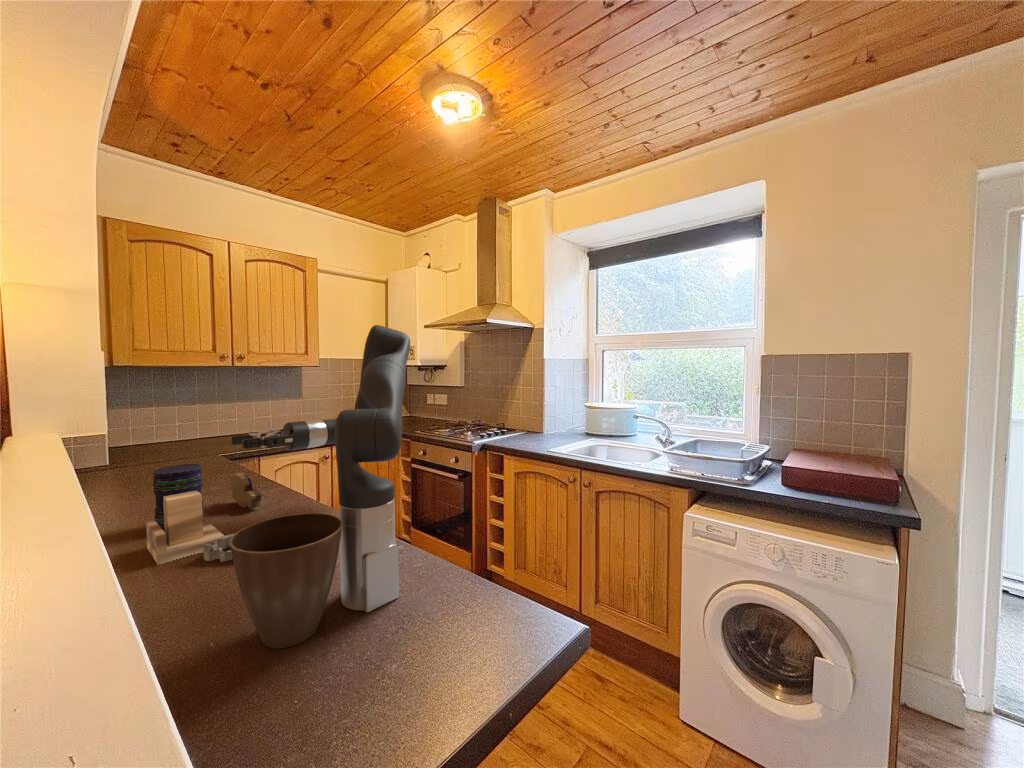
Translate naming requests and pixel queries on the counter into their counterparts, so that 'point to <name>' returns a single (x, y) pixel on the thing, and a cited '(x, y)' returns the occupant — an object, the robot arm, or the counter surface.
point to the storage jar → (175, 485)
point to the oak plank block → (183, 517)
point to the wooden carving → (244, 490)
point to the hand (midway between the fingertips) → (236, 442)
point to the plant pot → (286, 573)
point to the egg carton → (218, 549)
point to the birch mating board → (170, 553)
